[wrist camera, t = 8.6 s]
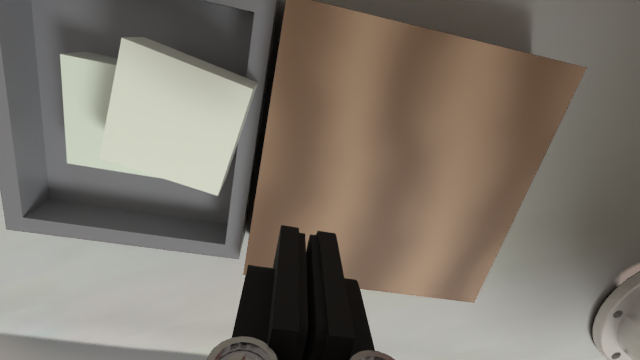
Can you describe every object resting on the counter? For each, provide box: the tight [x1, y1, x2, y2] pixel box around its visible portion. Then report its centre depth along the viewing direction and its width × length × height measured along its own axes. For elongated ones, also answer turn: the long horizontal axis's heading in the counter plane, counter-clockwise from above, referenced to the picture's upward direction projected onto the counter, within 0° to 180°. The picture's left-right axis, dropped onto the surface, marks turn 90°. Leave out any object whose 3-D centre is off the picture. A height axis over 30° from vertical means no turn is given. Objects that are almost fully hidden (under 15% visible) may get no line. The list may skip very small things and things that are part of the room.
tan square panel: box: [243, 0, 586, 303], centre depth 22 cm, size 16×16×4 cm
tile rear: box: [60, 52, 163, 179], centre depth 20 cm, size 6×6×2 cm
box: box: [0, 0, 279, 259], centre depth 20 cm, size 14×16×3 cm
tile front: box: [99, 37, 258, 196], centre depth 18 cm, size 6×6×2 cm
